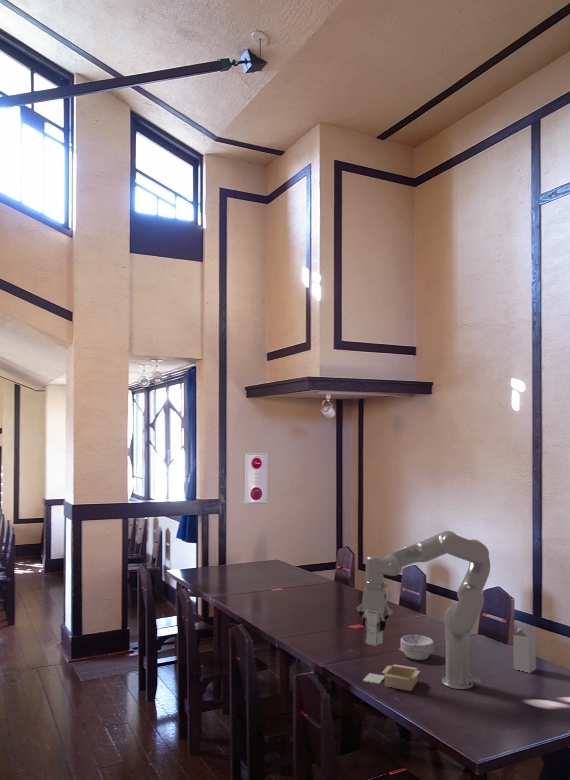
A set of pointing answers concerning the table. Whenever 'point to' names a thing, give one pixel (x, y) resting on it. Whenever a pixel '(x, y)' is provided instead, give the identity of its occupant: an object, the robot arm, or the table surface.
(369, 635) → the syrup box
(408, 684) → the carton
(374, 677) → the plate
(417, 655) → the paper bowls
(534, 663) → the milk carton
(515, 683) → the table surface
